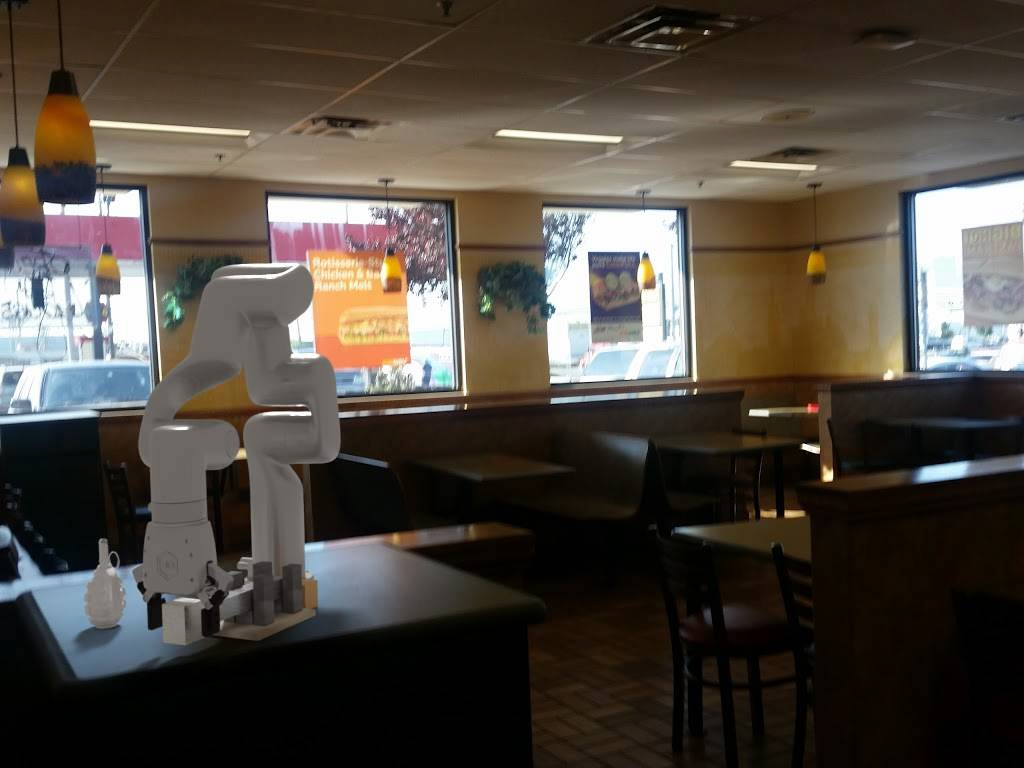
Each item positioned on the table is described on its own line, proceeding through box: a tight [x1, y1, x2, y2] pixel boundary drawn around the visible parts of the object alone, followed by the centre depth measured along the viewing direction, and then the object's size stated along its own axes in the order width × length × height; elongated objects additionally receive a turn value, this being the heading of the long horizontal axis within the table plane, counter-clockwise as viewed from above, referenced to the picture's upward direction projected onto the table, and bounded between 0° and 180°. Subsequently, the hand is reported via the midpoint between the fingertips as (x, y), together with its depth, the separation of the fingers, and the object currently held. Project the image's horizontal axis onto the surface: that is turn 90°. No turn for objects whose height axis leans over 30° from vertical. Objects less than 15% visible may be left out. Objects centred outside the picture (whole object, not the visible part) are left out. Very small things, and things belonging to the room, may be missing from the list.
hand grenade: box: [83, 538, 127, 630], centre depth 164 cm, size 8×6×14 cm
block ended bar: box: [162, 576, 283, 646], centre depth 158 cm, size 4×24×6 cm, turn 156°
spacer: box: [302, 579, 319, 609], centre depth 174 cm, size 6×4×4 cm
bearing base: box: [212, 561, 317, 642], centre depth 164 cm, size 11×15×8 cm
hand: (183, 631), depth 149 cm, fingers open, 9 cm apart
